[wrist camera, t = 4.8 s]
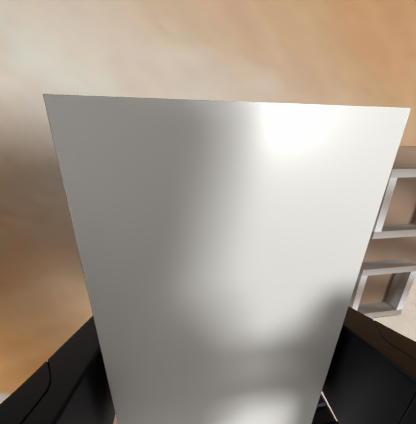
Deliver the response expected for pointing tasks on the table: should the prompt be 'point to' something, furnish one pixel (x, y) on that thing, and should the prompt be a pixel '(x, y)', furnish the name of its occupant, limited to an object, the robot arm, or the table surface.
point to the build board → (390, 245)
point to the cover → (220, 245)
